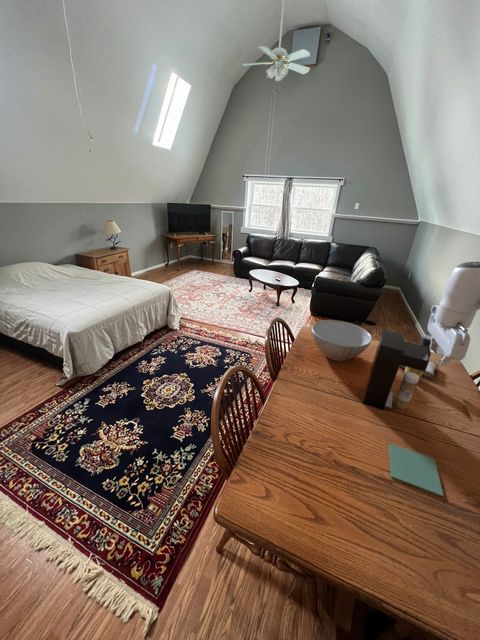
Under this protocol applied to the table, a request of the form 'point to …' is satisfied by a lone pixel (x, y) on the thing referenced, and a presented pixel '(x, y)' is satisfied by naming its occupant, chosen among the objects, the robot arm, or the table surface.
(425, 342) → the sauce bottle
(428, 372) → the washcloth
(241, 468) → the table surface
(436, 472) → the rubber mat
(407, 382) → the sprinkles bottle
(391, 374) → the black l-shaped post
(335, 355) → the decorative bowl
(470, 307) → the robot arm
